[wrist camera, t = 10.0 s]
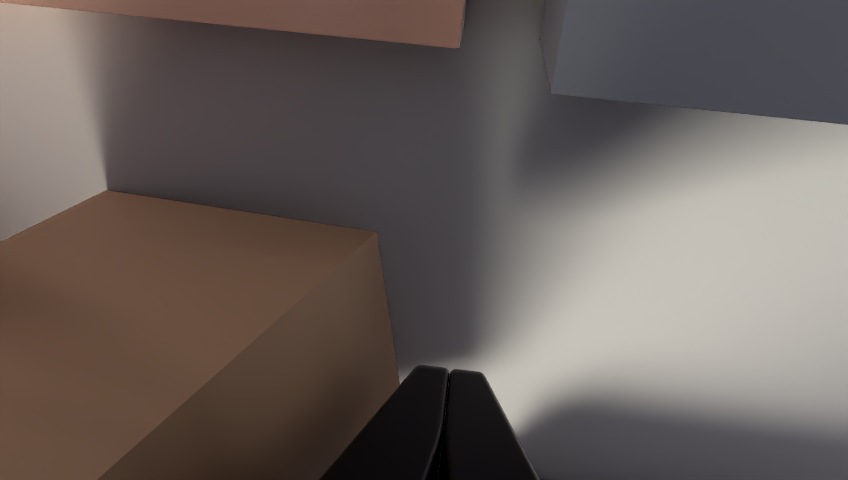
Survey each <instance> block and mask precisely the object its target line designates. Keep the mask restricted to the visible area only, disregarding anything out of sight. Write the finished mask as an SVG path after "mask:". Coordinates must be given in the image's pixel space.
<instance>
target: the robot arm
mask: <svg viewBox="0 0 848 480" xmlns="http://www.w3.org/2000/svg"><path fill="white" fill-rule="evenodd" d="M449 375H450V376H449ZM448 384H449V385H448ZM447 393H448V394H447ZM446 402H447V403H446ZM445 411H446V412H445ZM444 420H445V421H444ZM443 429H444V430H443ZM442 438H443V439H442ZM441 447H442V448H441ZM440 456H441V457H440ZM439 465H440V466H439ZM438 474H439V475H438ZM319 480H539V478H538V476H537V474H536V472H535V470H534V468H533V466H532V464H531V462H530V461H529V459H528V457H527V455H526V453H525V451H524V449H523V447H522V445H521V444H520V442H519V440H518V438H517V436H516V434H515V432H514V430H513V428H512V426H511V425H510V423H509V421H508V419H507V417H506V415H505V413H504V411H503V409H502V407H501V406H500V404H499V402H498V400H497V398H496V396H495V394H494V392H493V390H492V389H491V387H490V385H489V383H488V381H487V379H486V377H485V376H484V375H483V374H482V373H481V372H476V371H468V370H460V369H454V370H452V371H451V372H450V374H449V370H448V369H447V368H443V367H435V366H427V365H419V366H417V367H415V368H414V369H413V371H412V372H411V373H410V374H409V375H408V376H407V378H406V379H405V380H404V381H403V382H402V383H401V385H400V386H399V387H398V388H397V389H396V390H395V391H394V393H393V394H392V395H391V396H390V397H389V398H388V400H387V401H386V402H385V403H384V404H383V405H382V407H381V408H380V409H379V410H378V411H377V412H376V414H375V415H374V416H373V417H372V418H371V419H370V420H369V422H368V423H367V424H366V425H365V426H364V427H363V429H362V430H361V431H360V432H359V433H358V434H357V436H356V437H355V438H354V439H353V440H352V441H351V443H350V444H349V445H348V446H347V447H346V448H345V450H344V451H343V452H342V453H341V454H340V455H339V456H338V458H337V459H336V460H335V461H334V462H333V463H332V465H331V466H330V467H329V468H328V469H327V470H326V472H325V473H324V474H323V475H322V476H321V477H320V479H319Z"/></svg>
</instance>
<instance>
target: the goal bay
mask: <svg viewBox="0 0 848 480" xmlns="http://www.w3.org/2000/svg"><path fill="white" fill-rule="evenodd" d="M0 2H2V3H12V4H22V5H31V6H41V7H51V8H61V9H71V10H81V11H91V12H101V13H111V14H121V15H131V16H140V17H150V18H160V19H170V20H180V21H190V22H200V23H210V24H220V25H230V26H239V27H249V28H259V29H269V30H279V31H289V32H299V33H309V34H319V35H329V36H339V37H348V38H358V39H368V40H378V41H388V42H398V43H408V44H418V45H428V46H438V47H448V48H457V49H459V45H460V42H461V38H462V34H463V29H464V19H465V9H466V0H0Z"/></svg>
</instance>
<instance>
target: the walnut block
mask: <svg viewBox="0 0 848 480" xmlns="http://www.w3.org/2000/svg"><path fill="white" fill-rule="evenodd" d="M399 386H400V383H399V376H398V370H397V363H396V356H395V350H394V343H393V337H392V330H391V323H390V317H389V310H388V303H387V297H386V290H385V283H384V277H383V270H382V263H381V257H380V250H379V244H378V237H377V232H373V231H367V230H360V229H354V228H347V227H341V226H335V225H328V224H322V223H315V222H309V221H302V220H296V219H289V218H283V217H276V216H270V215H264V214H257V213H251V212H244V211H238V210H231V209H225V208H218V207H212V206H205V205H199V204H192V203H186V202H180V201H173V200H167V199H160V198H154V197H147V196H141V195H134V194H128V193H121V192H115V191H109V190H106V191H104V192H102V193H100V194H98V195H96V196H94V197H92V198H90V199H88V200H85V201H83V202H81V203H79V204H77V205H75V206H73V207H71V208H69V209H67V210H65V211H63V212H61V213H59V214H57V215H55V216H53V217H51V218H49V219H47V220H45V221H43V222H41V223H39V224H37V225H35V226H33V227H31V228H29V229H27V230H24V231H22V232H20V233H18V234H16V235H14V236H12V237H10V238H8V239H6V240H4V241H2V242H0V480H319V479H320V477H321V476H322V475H323V474H324V473H325V472H326V470H327V469H328V468H329V467H330V466H331V465H332V463H333V462H334V461H335V460H336V459H337V458H338V456H339V455H340V454H341V453H342V452H343V451H344V450H345V448H346V447H347V446H348V445H349V444H350V443H351V441H352V440H353V439H354V438H355V437H356V436H357V434H358V433H359V432H360V431H361V430H362V429H363V427H364V426H365V425H366V424H367V423H368V422H369V420H370V419H371V418H372V417H373V416H374V415H375V414H376V412H377V411H378V410H379V409H380V408H381V407H382V405H383V404H384V403H385V402H386V401H387V400H388V398H389V397H390V396H391V395H392V394H393V393H394V391H395V390H396V389H397V388H398V387H399Z"/></svg>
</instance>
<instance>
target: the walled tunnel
mask: <svg viewBox="0 0 848 480" xmlns="http://www.w3.org/2000/svg"><path fill="white" fill-rule="evenodd" d="M540 43H541V48H542V53H543V57H544V62H545V67H546V71H547V76H548V81H549V85H550V90H551V94H558V95H568V96H577V97H587V98H597V99H606V100H616V101H626V102H635V103H645V104H654V105H664V106H674V107H683V108H693V109H702V110H712V111H722V112H731V113H741V114H751V115H760V116H770V117H779V118H789V119H799V120H808V121H818V122H828V123H837V124H847V125H848V0H546V1H545V7H544V14H543V20H542V27H541V33H540Z"/></svg>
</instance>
